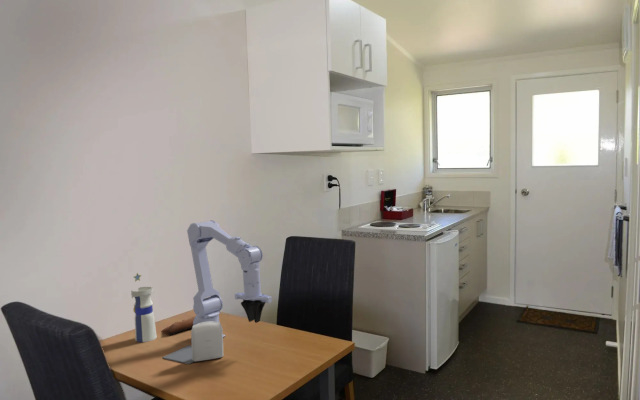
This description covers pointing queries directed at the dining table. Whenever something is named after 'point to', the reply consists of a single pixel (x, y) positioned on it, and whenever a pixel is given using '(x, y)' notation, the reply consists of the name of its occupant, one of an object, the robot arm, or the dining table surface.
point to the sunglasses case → (178, 326)
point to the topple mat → (181, 355)
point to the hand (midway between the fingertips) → (254, 321)
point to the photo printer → (207, 341)
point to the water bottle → (144, 314)
